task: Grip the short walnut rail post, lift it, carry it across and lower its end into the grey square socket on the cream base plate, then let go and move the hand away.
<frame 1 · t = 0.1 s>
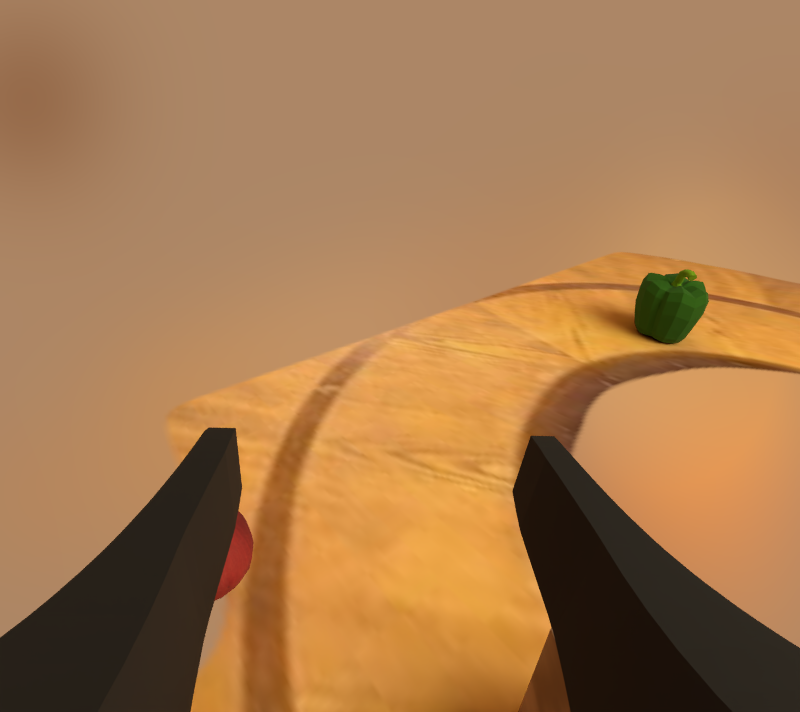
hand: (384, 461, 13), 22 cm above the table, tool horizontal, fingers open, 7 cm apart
bell pepper: (656, 335, 71), on the table
onion: (209, 591, 33), on the table
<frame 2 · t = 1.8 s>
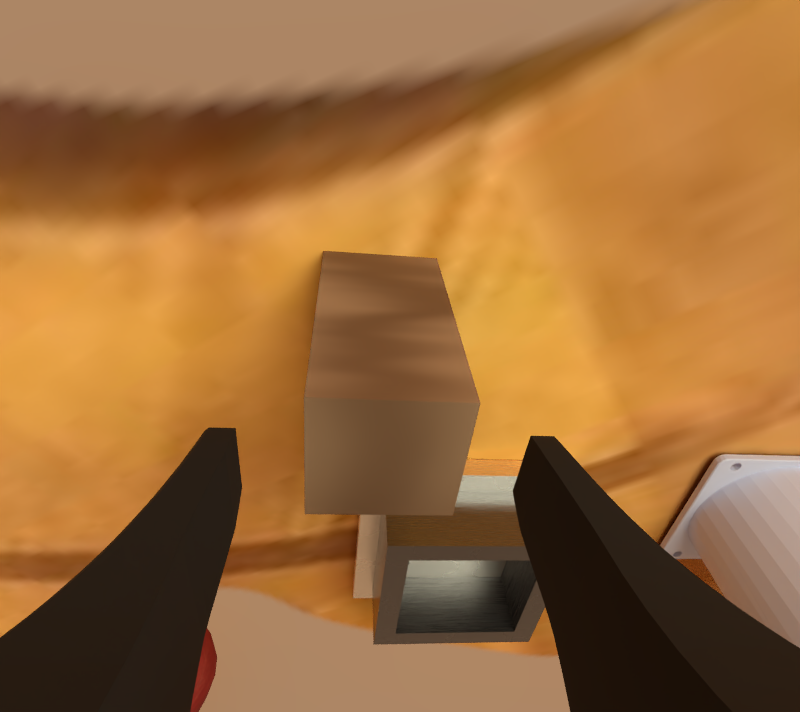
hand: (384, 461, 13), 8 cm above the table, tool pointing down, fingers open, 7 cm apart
rail post: (376, 304, 19), on the table
onion: (176, 598, 30), on the table
grey square socket: (453, 526, 27), on the table
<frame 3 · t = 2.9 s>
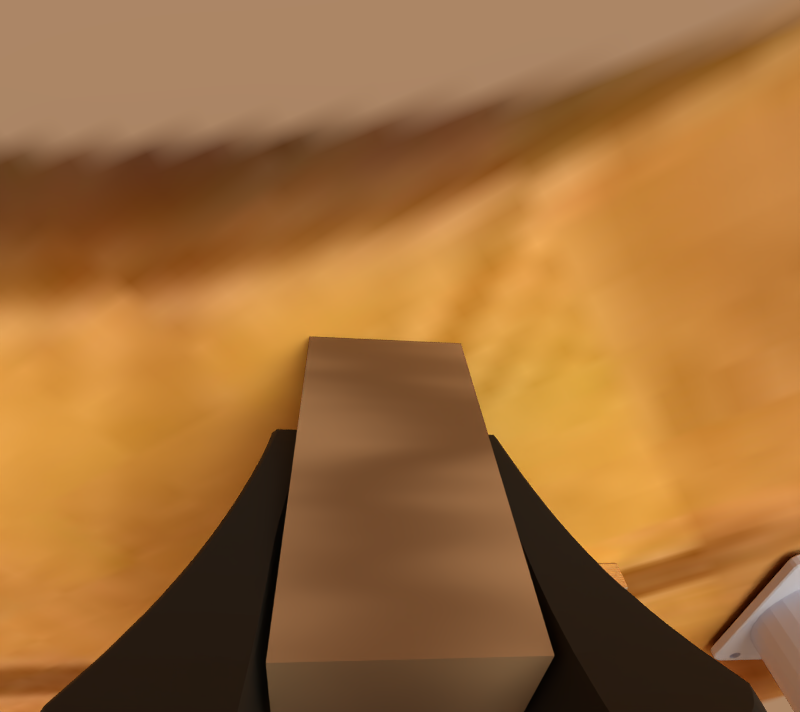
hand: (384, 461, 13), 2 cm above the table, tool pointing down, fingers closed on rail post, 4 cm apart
rail post: (380, 398, 15), on the table, touching gripper
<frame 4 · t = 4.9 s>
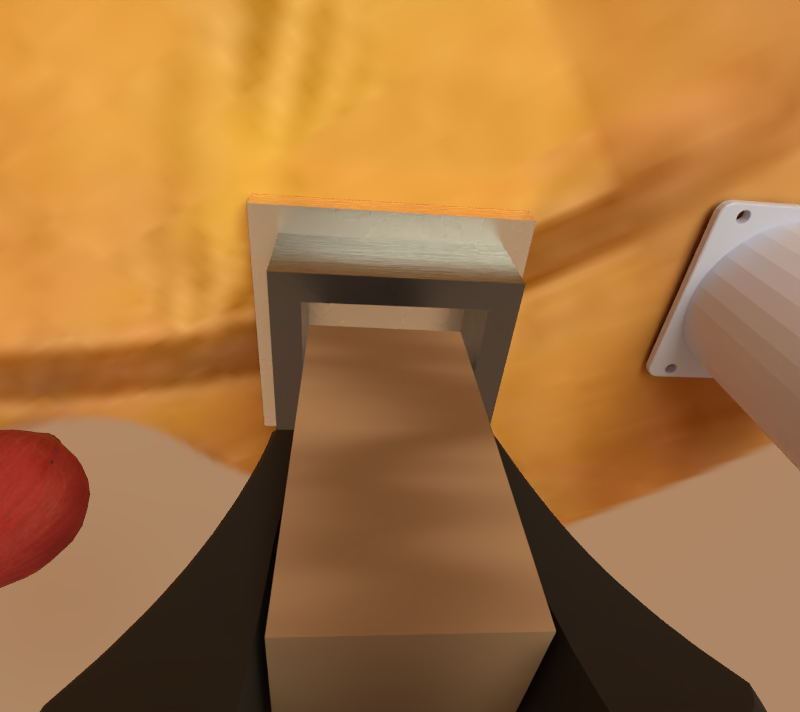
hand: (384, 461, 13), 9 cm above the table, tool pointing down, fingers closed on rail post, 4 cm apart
rail post: (380, 388, 15), point 7 cm above the table, touching gripper
onion: (49, 436, 24), on the table
grey square socket: (384, 321, 21), on the table
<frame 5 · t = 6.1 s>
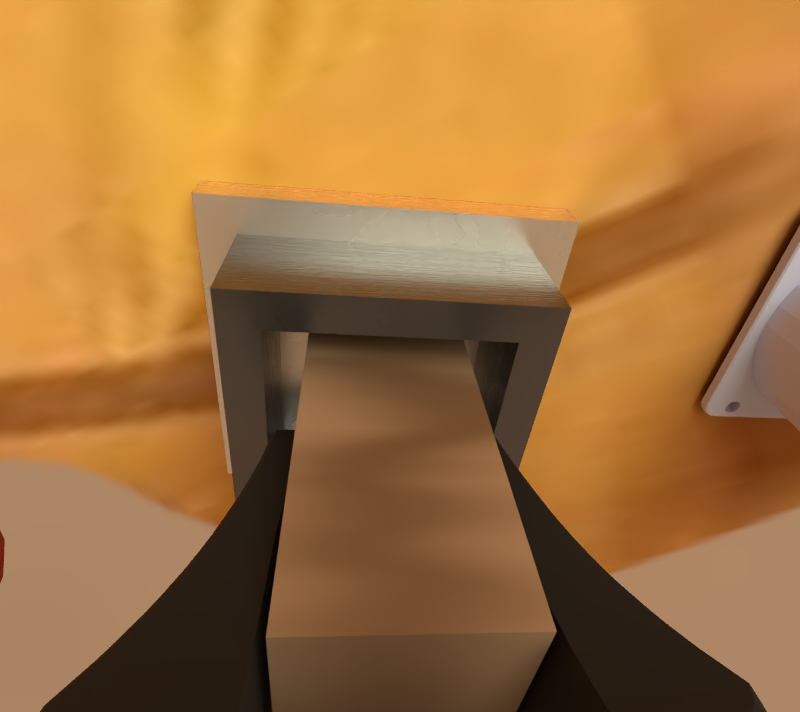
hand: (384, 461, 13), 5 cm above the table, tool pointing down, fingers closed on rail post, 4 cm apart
rail post: (380, 388, 15), point 2 cm above the table, touching gripper
grey square socket: (377, 347, 17), on the table
when the fingers open (5 cm above the table, at t = 7.0 s): rail post drops 1 cm, resting on grey square socket.
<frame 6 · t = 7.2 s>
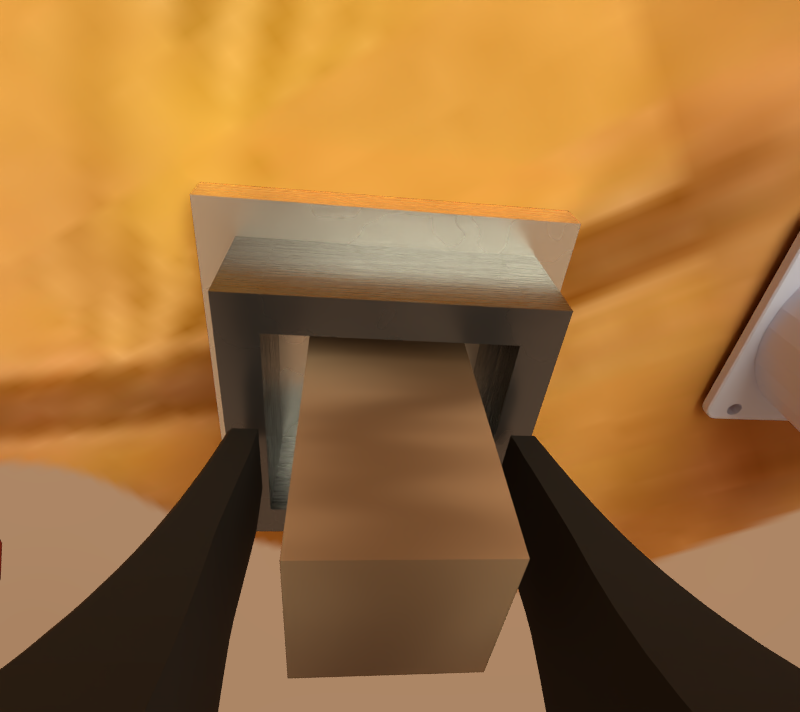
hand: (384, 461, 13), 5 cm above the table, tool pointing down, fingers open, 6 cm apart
rail post: (380, 362, 16), point 1 cm above the table, touching grey square socket
grey square socket: (377, 349, 17), on the table
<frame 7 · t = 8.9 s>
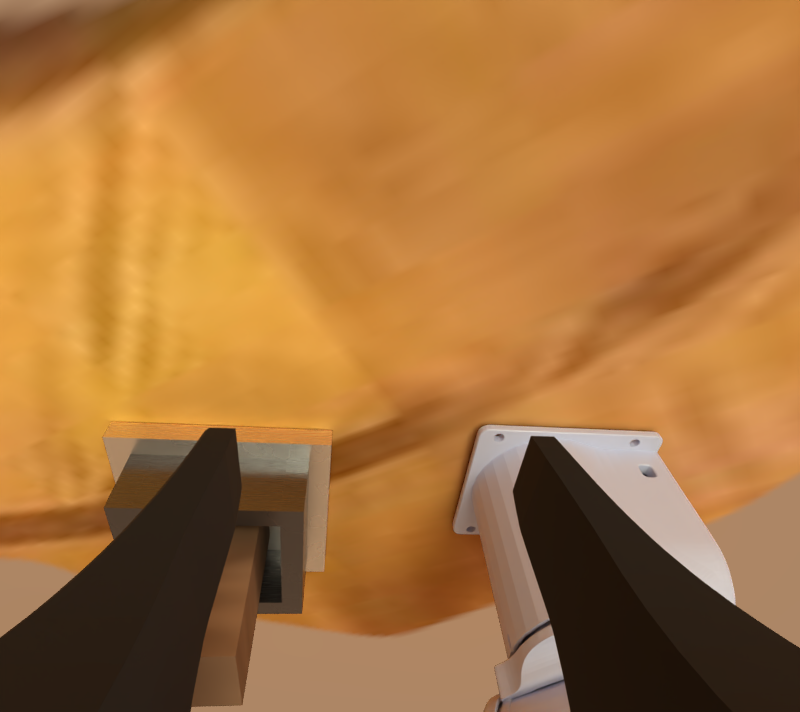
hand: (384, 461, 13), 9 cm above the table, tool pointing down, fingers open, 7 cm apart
rail post: (227, 510, 26), point 1 cm above the table, touching grey square socket
grey square socket: (231, 497, 27), on the table
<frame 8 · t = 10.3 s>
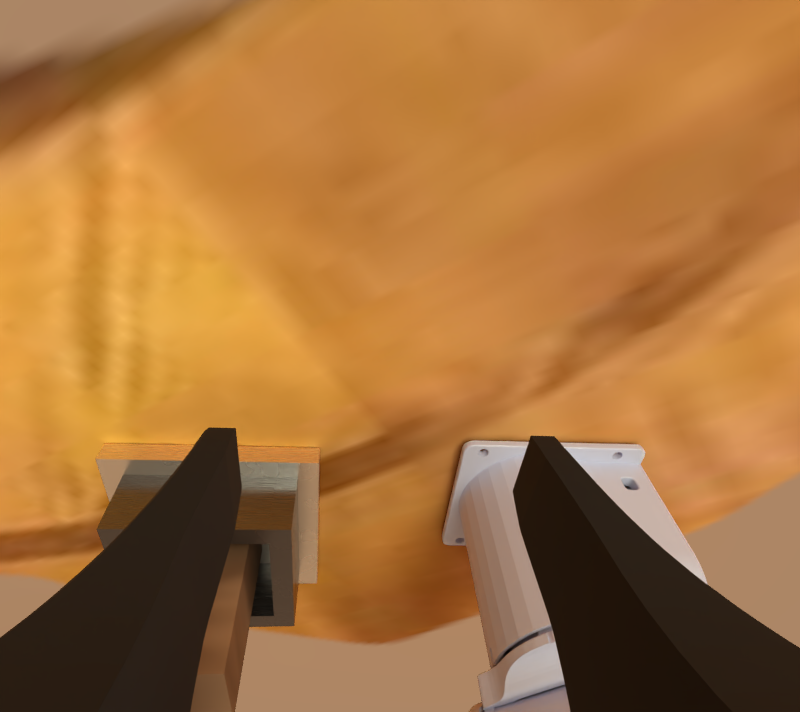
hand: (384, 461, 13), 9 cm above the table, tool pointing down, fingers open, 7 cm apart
rail post: (220, 526, 27), point 1 cm above the table, touching grey square socket
grey square socket: (224, 513, 28), on the table
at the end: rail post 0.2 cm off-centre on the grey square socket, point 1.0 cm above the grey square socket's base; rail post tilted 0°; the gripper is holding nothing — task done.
